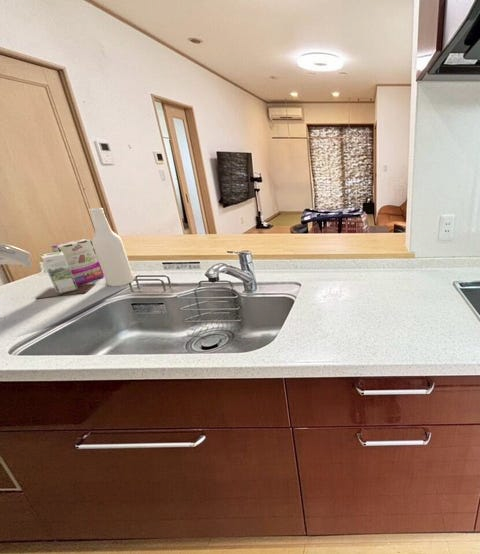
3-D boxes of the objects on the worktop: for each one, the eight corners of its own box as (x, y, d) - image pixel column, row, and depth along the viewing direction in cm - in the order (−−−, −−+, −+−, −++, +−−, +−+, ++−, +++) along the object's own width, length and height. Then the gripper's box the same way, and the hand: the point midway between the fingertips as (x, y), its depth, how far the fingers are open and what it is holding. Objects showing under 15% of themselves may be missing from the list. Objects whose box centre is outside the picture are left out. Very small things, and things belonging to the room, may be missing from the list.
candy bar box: (97, 275, 128) (83, 238, 121) (105, 276, 126) (92, 239, 120) (66, 285, 118) (49, 245, 112) (74, 286, 116) (58, 246, 110)
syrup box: (75, 285, 116) (61, 250, 110) (78, 289, 113) (64, 253, 107) (55, 290, 112) (39, 254, 106) (58, 294, 109) (41, 257, 103)
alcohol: (138, 281, 122) (115, 208, 110) (112, 288, 115) (84, 211, 103) (129, 276, 126) (106, 205, 115) (104, 283, 119) (76, 209, 108)
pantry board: (36, 299, 106) (35, 298, 106) (50, 289, 114) (49, 288, 114) (85, 293, 111) (84, 292, 111) (95, 284, 119) (95, 283, 119)
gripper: (4, 235, 84) (51, 257, 97) (-71, 235, 83) (-14, 256, 96) (-6, 255, 82) (43, 274, 94) (-84, 254, 81) (-23, 274, 94)
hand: (14, 265), depth 95 cm, fingers open, 8 cm apart
